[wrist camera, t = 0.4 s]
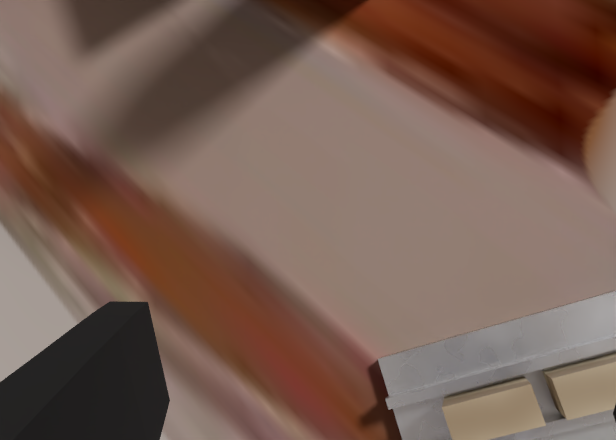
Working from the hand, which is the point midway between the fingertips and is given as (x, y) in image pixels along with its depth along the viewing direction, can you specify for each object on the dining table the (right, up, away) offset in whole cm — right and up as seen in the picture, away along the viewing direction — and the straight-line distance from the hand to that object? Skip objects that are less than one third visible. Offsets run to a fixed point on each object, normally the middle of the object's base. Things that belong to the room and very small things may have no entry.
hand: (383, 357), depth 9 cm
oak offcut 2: (+14, -6, +22) cm, 26 cm away
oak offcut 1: (+9, -8, +23) cm, 26 cm away
